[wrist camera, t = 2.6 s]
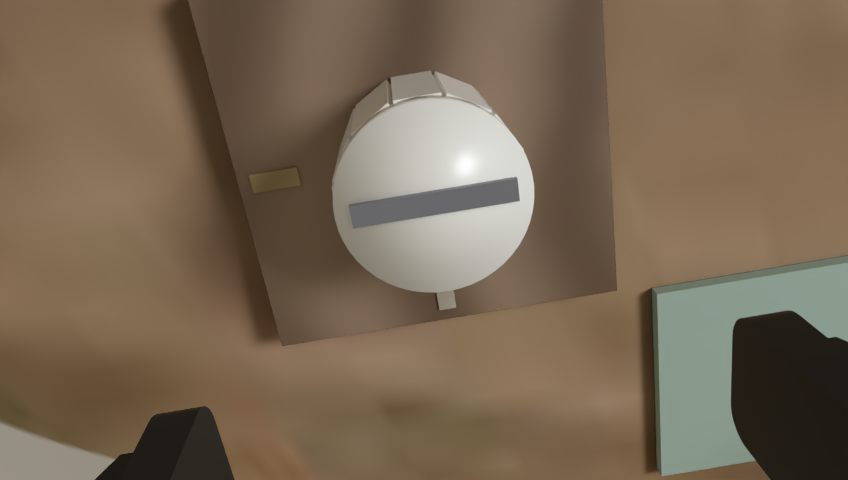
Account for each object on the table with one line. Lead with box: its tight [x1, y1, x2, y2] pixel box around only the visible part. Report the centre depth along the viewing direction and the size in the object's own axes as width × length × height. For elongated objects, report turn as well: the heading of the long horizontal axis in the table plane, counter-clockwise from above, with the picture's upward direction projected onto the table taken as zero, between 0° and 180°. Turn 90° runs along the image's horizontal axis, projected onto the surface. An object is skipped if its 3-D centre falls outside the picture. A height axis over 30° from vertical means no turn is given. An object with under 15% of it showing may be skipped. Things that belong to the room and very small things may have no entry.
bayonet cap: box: [332, 71, 534, 293], centre depth 22 cm, size 6×6×6 cm
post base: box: [188, 0, 617, 346], centre depth 24 cm, size 14×14×6 cm
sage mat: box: [652, 256, 848, 476], centre depth 31 cm, size 12×10×1 cm
